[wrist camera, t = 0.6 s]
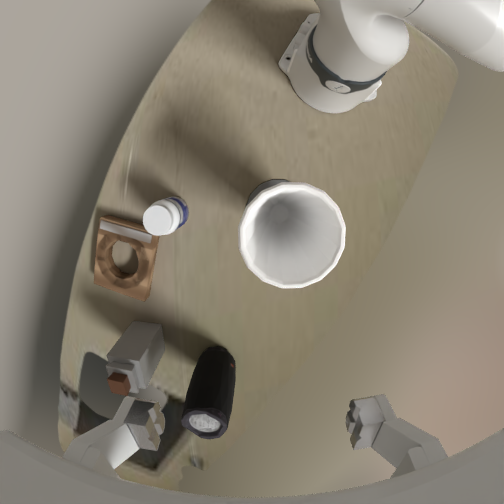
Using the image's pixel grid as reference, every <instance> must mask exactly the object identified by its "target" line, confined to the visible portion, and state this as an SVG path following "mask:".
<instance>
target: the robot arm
mask: <svg viewBox="0 0 504 504" xmlns="http://www.w3.org/2000/svg"><path fill="white" fill-rule="evenodd" d="M314 1H315V2H316V4H317V5H318V7H319V9H320V13H313V14H310V15H309V16H308V17H307V18H306V20H305V21H304V22H303V23H302V24H301V26H300V28H299V30H298V32H297V33H296V35H295V37H294V38H293V40H292V41H291V43H290V44H289V46H288V48H287V49H286V51H285V52H284V54H283V56H282V57H281V59H280V61H279V67H280V68H281V70H282V71H283V72H284V73H285V74H286V75H287V76H288V77H289V79H290V81H291V84H292V86H293V88H294V90H295V92H296V93H297V95H298V96H299V97H300V98H301V99H302V100H303V101H304V102H305V103H307V104H308V105H310V106H311V107H313V108H315V109H317V110H320V111H323V112H328V113H342V112H346V111H348V110H351V109H352V108H354V107H355V106H357V105H358V104H360V103H361V102H367V101H371V100H373V99H374V98H375V97H376V89H377V88H378V87H379V86H380V85H381V83H382V82H381V78H382V77H383V76H384V75H385V73H386V72H387V70H388V69H390V68H391V67H392V66H394V65H395V64H396V63H398V62H399V61H400V60H402V59H403V57H404V56H405V54H406V52H407V50H408V46H409V35H408V31H407V28H406V25H405V23H404V21H405V22H407V23H409V24H411V25H413V26H415V27H416V28H418V29H420V30H422V31H424V32H425V33H427V34H429V35H430V36H432V37H434V38H435V39H437V40H439V41H440V42H442V43H443V44H445V45H447V46H448V47H450V48H451V49H453V50H454V51H456V52H458V53H460V54H462V55H464V56H466V57H468V58H470V59H472V60H474V61H476V62H478V63H480V64H482V65H484V66H486V67H488V68H489V69H492V70H494V71H504V0H314ZM286 58H290V60H287V59H286ZM349 407H350V410H349V411H348V412H347V416H346V427H347V430H348V432H349V433H351V434H352V435H351V438H350V441H351V444H352V447H353V450H356V449H362V448H367V447H372V448H373V449H374V450H375V451H376V452H377V453H379V454H380V455H381V456H382V457H383V458H385V459H386V460H387V461H388V462H389V463H391V464H392V465H393V466H394V467H396V468H397V469H396V471H395V472H394V473H393V475H392V476H391V478H390V479H386V480H383V481H379V482H375V483H372V484H367V485H363V486H358V487H354V488H349V489H344V490H338V491H332V492H325V493H317V494H309V495H300V496H286V497H260V498H259V497H255V498H254V497H253V498H252V497H223V496H210V495H201V494H192V493H185V492H178V491H172V490H167V489H161V488H156V487H151V486H147V485H143V484H138V483H134V482H131V481H127V480H123V479H120V477H119V476H118V474H117V473H116V472H115V470H114V469H115V468H116V467H117V466H119V465H120V464H121V463H122V462H124V461H125V460H126V459H127V458H129V457H130V456H131V455H132V454H133V453H135V452H136V451H137V450H138V449H139V448H143V449H149V450H155V451H157V449H158V446H159V443H160V438H159V435H160V434H162V433H163V431H164V427H165V419H164V415H163V413H162V412H160V408H161V407H160V404H159V402H157V401H151V400H145V399H139V398H134V397H128V396H127V397H125V398H124V400H123V402H122V404H121V405H120V407H119V409H118V411H117V413H116V415H115V417H114V418H113V420H108V421H106V422H105V423H103V424H101V425H99V426H97V427H96V428H94V429H92V430H90V431H88V432H86V433H84V434H83V435H81V436H79V437H77V438H75V439H73V440H72V442H71V443H70V445H69V447H68V449H67V450H66V452H65V454H64V455H63V457H62V458H61V457H59V456H57V455H55V454H53V453H51V452H48V451H46V450H44V449H42V448H40V447H38V446H36V445H35V444H33V443H31V442H29V441H27V440H25V439H24V438H22V437H20V436H18V435H17V434H15V433H13V432H11V431H9V430H3V431H0V504H504V428H503V429H502V430H499V431H498V432H496V433H494V434H493V435H491V436H489V437H488V438H486V439H484V440H483V441H480V442H479V443H477V444H475V445H473V446H471V447H469V448H467V449H465V450H463V451H461V452H459V453H457V454H454V455H452V456H450V457H448V456H447V454H446V452H445V450H444V449H443V447H442V445H441V443H440V441H439V439H438V438H436V437H434V436H432V435H430V434H429V433H427V432H425V431H423V430H421V429H419V428H417V427H416V426H414V425H412V424H410V423H408V422H407V421H405V420H403V419H401V418H397V417H396V415H395V413H394V411H393V409H392V407H391V405H390V403H389V401H388V399H387V397H386V395H384V394H381V395H376V396H370V397H365V398H359V399H353V400H351V401H350V405H349Z"/></svg>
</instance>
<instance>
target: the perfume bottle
mask: <svg viewBox="0 0 504 504" xmlns="http://www.w3.org/2000/svg"><path fill="white" fill-rule="evenodd" d="M164 351H165V345H164V338H163V331H162V324H155V323H146V322H137V321H133V322H132V323H131V325H130V326H129V327H128V328H127V330H126V331H125V332H124V333H123V335H122V336H121V337H120V339H119V340H118V341H117V342H116V344H115V345H114V346H113V348H112V349H111V350H110V352H109V353H108V354H107V358H108V362H109V364H108V365H106V369H107V372H108V375H109V377H108V379H107V381H108V383H109V386H110V389H111V392H112V393H116V394H120V395H125V396H128V393H129V392H134V393H138V392H139V388H144V389H146V388H147V386H148V384H149V382H150V380H151V378H152V376H153V374H154V372H155V370H156V368H157V365H158V363H159V361H160V359H161V357H162V355H163V353H164Z"/></svg>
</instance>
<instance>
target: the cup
mask: <svg viewBox="0 0 504 504" xmlns="http://www.w3.org/2000/svg"><path fill="white" fill-rule="evenodd" d="M345 230H346V226H345V223H344V220H343V217H342V215H341V212H340V209H339V207H338V205H337V204H336V203H335V202H334V201H333V200H332V199H331V198H330V197H329V196H328V195H327V194H326V193H325V191H323V190H321V189H318V188H316V187H314V186H312V185H309V184H307V183H305V182H289V181H287V180H270V181H267V182H265V183H263V184H260V185H259V186H258V187H257V188H256V189H255V190H254V191H253V192H252V193H251V195H250V198H249V200H248V203H247V205H246V208H245V210H244V213H243V216H242V218H241V221H240V223H239V226H238V243H239V250H240V252H241V255H242V257H243V259H244V261H245V263H246V265H247V267H248V268H249V269H250V270H251V271H252V272H253V273H254V274H255V275H256V276H257V277H259V278H260V279H261V280H262V281H264V282H266V283H269V284H272V285H274V286H277V287H280V288H303V287H305V286H308V285H310V284H312V283H315V282H317V281H320V280H321V279H322V278H324V277H325V276H326V275H327V274H328V273H329V272H330V271H331V270H332V269H333V268H334V267H335V266H336V264H337V262H338V260H339V258H340V256H341V254H342V252H343V249H344V247H345Z"/></svg>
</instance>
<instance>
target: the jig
mask: <svg viewBox="0 0 504 504" xmlns="http://www.w3.org/2000/svg"><path fill="white" fill-rule="evenodd" d="M118 240H120V241H123V242H127V243H129V244H130V245H131V246H132V247H133V248H134V249H135V250H136V253H137V256H138V259H139V265H138V271H137V272H136V273H133V274H128V273H125V272H122V271H121V270H120V269H119V268H118V267H117V266H116V265H115V264H114V261H113V258H112V248H113V245H114V244H115V242H116V241H118ZM158 241H159V236H156V235H152V234H150V233H149V232H148V231H147V230H146V229H145V227H144V225H142V224H138V223H134V222H131V221H127V220H124V219H120V218H117V217H113V216H110V215H106V216H103V217H100V221H99V229H98V238H97V247H96V258H95V272H94V284H97V285H99V286H102V287H105V288H107V289H110V290H113V291H116V292H118V293H121V294H124V295H127V296H130V297H132V298H135V299H138V300H141V301H144V302H145V300H146V299H147V298H148V297H149V296H150V290H151V283H152V276H153V270H154V264H155V258H156V252H157V247H158Z"/></svg>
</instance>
